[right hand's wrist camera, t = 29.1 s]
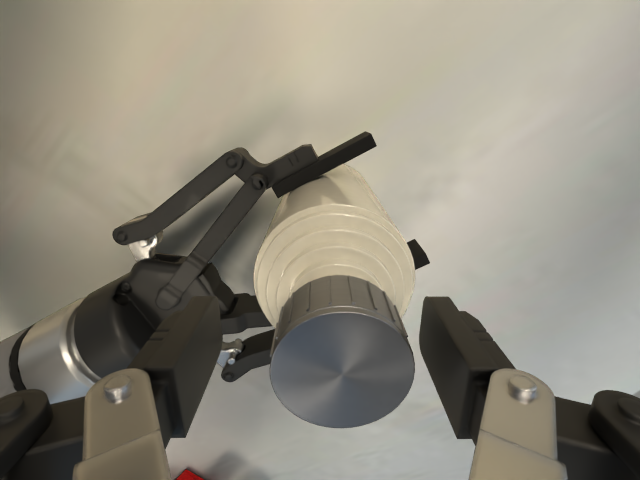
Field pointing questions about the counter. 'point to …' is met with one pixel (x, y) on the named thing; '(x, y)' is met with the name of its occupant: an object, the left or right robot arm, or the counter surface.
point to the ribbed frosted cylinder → (332, 242)
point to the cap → (340, 353)
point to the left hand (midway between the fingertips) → (397, 197)
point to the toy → (188, 476)
